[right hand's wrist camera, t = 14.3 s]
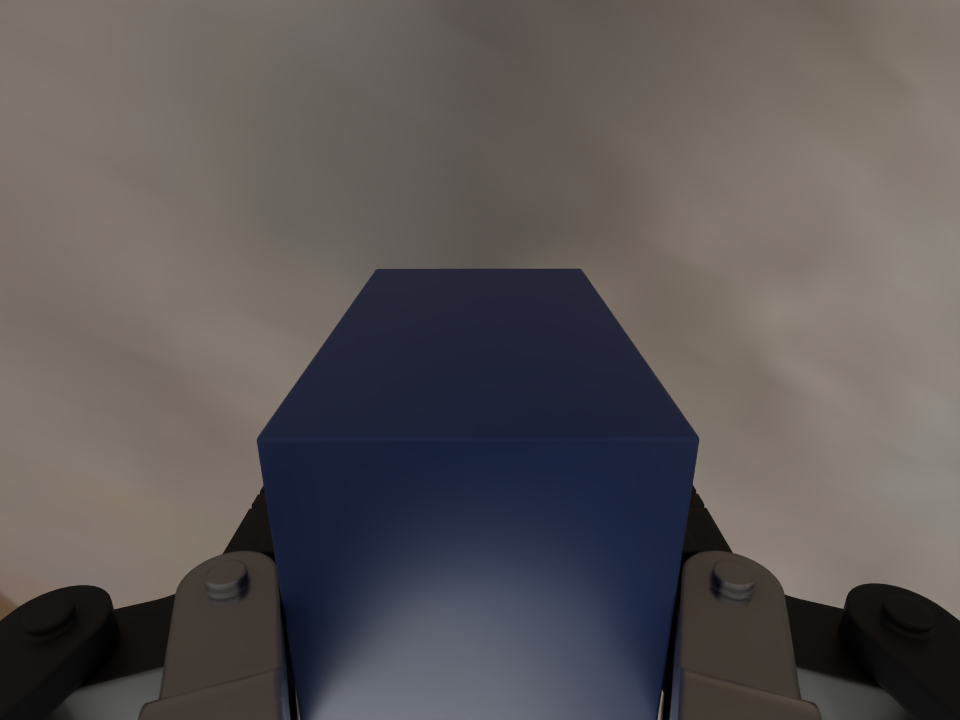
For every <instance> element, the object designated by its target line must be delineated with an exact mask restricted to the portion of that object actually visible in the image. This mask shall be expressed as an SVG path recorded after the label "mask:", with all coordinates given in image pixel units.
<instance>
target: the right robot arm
mask: <svg viewBox="0 0 960 720" xmlns="http://www.w3.org/2000/svg"><path fill="white" fill-rule="evenodd" d="M662 690H663V699H662V707H661V719H660V720H960V621H959V620H958V619H957V618H955V617H954V616H953V615H951V614H950V613H949V612H948V611H946V610H945V609H943V608H942V607H941V606H939V605H938V604H936V603H934V602H933V601H931V600H929V599H927V598H925V597H923V596H921V595H919V594H917V593H915V592H912V591H909V590H907V589H903V588H900V587H897V586H892V585H887V584H876V583H870V584H863V585H860V586H857V587H855V588H853V589H852V590H851V591H850V592H849V593H848V596H847V598H846V602H845V605H844V609H841V608H837V607H832V606H828V605H824V604H819V603H815V602H810V601H806V600H802V599H798V598H794V597H790V596H787V595H785V594H784V591H783V588H782V586H781V584H780V582H779V581H778V580H777V578H776V577H775V576H774V575H773V574H772V573H771V572H770V571H769V570H767V569H766V568H765V567H763V566H762V565H760V564H759V563H757V562H755V561H753V560H751V559H749V558H747V557H744V556H741V555H738V554H734V553H733V552H732V551H731V549H730V547H729V546H728V544H727V542H726V540H725V539H724V537H723V535H722V534H721V532H720V530H719V529H718V527H717V525H716V523H715V522H714V520H713V518H712V517H711V515H710V513H709V512H708V510H707V508H704V503H703V501H702V500H701V498H700V496H699V495H698V494H696V489H695V488H694V486H693V485H692V492H691V498H690V505H689V512H688V518H687V525H686V532H685V538H684V545H683V552H682V558H681V565H680V572H679V578H678V585H677V592H676V599H675V605H674V612H673V619H672V625H671V632H670V639H669V645H668V652H667V659H666V665H665V672H664V679H663V685H662ZM0 720H300V719H299V708H298V701H297V695H296V688H295V682H294V676H293V669H292V663H291V656H290V650H289V644H288V637H287V631H286V624H285V618H284V612H283V605H282V599H281V592H280V586H279V580H278V573H277V567H276V560H275V554H274V548H273V541H272V535H271V529H270V522H269V516H268V509H267V503H266V497H265V490H264V485H263V487H262V489H261V491H260V494H258V496H257V497H256V499H255V501H254V502H253V504H252V509H249V511H248V512H247V514H246V516H245V517H244V519H243V521H242V522H241V524H240V526H239V527H238V529H237V531H236V532H235V534H234V536H233V537H232V539H231V541H230V543H229V544H228V546H227V548H226V549H225V551H224V553H223V554H222V555H219V556H216V557H213V558H211V559H209V560H207V561H205V562H203V563H201V564H200V565H198V566H197V567H195V568H194V569H193V570H191V571H190V572H189V573H188V574H187V575H186V576H185V577H184V578H183V580H182V581H181V582H180V584H179V586H178V588H177V591H176V594H174V595H171V596H168V597H165V598H161V599H158V600H154V601H150V602H145V603H141V604H136V605H132V606H128V607H123V608H119V609H114V608H113V604H112V601H111V598H110V595H109V594H108V593H107V592H106V591H105V590H103V589H101V588H99V587H96V586H89V585H78V586H70V587H65V588H60V589H57V590H54V591H51V592H48V593H45V594H43V595H40V596H38V597H36V598H34V599H32V600H30V601H28V602H26V603H25V604H23V605H21V606H20V607H18V608H17V609H15V610H14V611H13V612H11V613H10V614H9V615H7V616H6V617H5V618H3V619H2V620H1V621H0Z"/></svg>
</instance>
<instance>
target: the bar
mask: <svg viewBox="0 0 960 720" xmlns="http://www.w3.org/2000/svg"><path fill="white" fill-rule="evenodd" d="M257 445H258V452H259V458H260V465H261V471H262V477H263V484H264V490H265V497H266V503H267V509H268V516H269V522H270V529H271V535H272V541H273V548H274V554H275V560H276V567H277V573H278V580H279V586H280V592H281V599H282V605H283V612H284V618H285V624H286V631H287V637H288V644H289V650H290V656H291V663H292V669H293V676H294V682H295V688H296V695H297V701H298V708H299V714H300V720H657V719H658V712H659V705H660V699H661V692H662V685H663V679H664V672H665V665H666V659H667V652H668V645H669V639H670V632H671V625H672V619H673V612H674V605H675V599H676V592H677V585H678V578H679V572H680V565H681V558H682V552H683V545H684V538H685V532H686V525H687V518H688V512H689V505H690V498H691V492H692V485H693V478H694V472H695V465H696V458H697V452H698V445H699V437H698V435H697V434H696V432H695V431H694V430H693V428H692V427H691V425H690V424H689V422H688V421H687V420H686V418H685V417H684V415H683V414H682V412H681V411H680V410H679V408H678V407H677V405H676V404H675V402H674V401H673V400H672V398H671V397H670V395H669V394H668V392H667V391H666V390H665V388H664V387H663V385H662V384H661V382H660V381H659V380H658V378H657V377H656V375H655V374H654V372H653V371H652V370H651V368H650V367H649V365H648V364H647V362H646V361H645V360H644V358H643V357H642V355H641V354H640V352H639V351H638V350H637V348H636V347H635V345H634V344H633V342H632V341H631V340H630V338H629V337H628V335H627V334H626V332H625V331H624V330H623V328H622V327H621V325H620V324H619V322H618V321H617V320H616V318H615V317H614V315H613V314H612V312H611V311H610V310H609V308H608V307H607V305H606V304H605V302H604V301H603V300H602V298H601V297H600V295H599V294H598V292H597V291H596V290H595V288H594V287H593V285H592V284H591V282H590V281H589V280H588V278H587V277H586V275H585V274H584V272H583V271H582V270H581V269H377V270H375V272H374V273H373V275H372V276H371V278H370V279H369V280H368V282H367V283H366V285H365V286H364V287H363V289H362V290H361V292H360V293H359V295H358V296H357V297H356V299H355V300H354V302H353V303H352V304H351V306H350V307H349V309H348V310H347V312H346V313H345V314H344V316H343V317H342V319H341V320H340V321H339V323H338V324H337V326H336V327H335V329H334V330H333V331H332V333H331V334H330V336H329V337H328V338H327V340H326V341H325V343H324V344H323V346H322V347H321V348H320V350H319V351H318V353H317V354H316V355H315V357H314V358H313V360H312V361H311V363H310V364H309V365H308V367H307V368H306V370H305V371H304V372H303V374H302V375H301V377H300V378H299V380H298V381H297V382H296V384H295V385H294V387H293V388H292V389H291V391H290V392H289V394H288V395H287V397H286V398H285V399H284V401H283V402H282V404H281V405H280V406H279V408H278V409H277V411H276V412H275V414H274V415H273V416H272V418H271V419H270V421H269V422H268V423H267V425H266V426H265V428H264V429H263V431H262V432H261V433H260V435H259V436H258V438H257Z"/></svg>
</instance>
